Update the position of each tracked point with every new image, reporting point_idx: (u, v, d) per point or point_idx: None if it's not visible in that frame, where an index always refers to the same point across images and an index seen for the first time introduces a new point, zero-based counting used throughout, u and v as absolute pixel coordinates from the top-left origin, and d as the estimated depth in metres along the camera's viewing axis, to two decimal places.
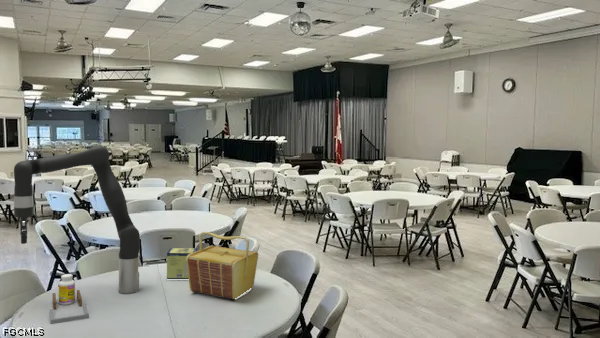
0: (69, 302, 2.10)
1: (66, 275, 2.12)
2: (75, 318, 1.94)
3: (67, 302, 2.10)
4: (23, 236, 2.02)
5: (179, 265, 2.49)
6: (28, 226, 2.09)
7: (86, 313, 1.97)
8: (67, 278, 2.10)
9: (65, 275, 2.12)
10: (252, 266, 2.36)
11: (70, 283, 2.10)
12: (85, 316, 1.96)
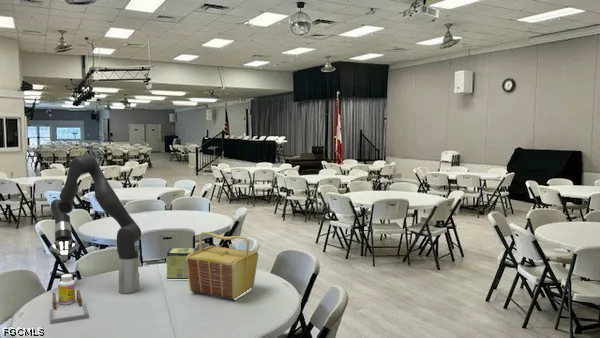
0: (69, 302, 2.10)
1: (66, 275, 2.12)
2: (75, 318, 1.94)
3: (67, 302, 2.10)
4: (60, 256, 2.26)
5: (179, 265, 2.49)
6: (65, 248, 2.28)
7: (86, 313, 1.97)
8: (67, 278, 2.10)
9: (65, 275, 2.12)
10: (252, 266, 2.36)
11: (70, 283, 2.10)
12: (85, 316, 1.96)
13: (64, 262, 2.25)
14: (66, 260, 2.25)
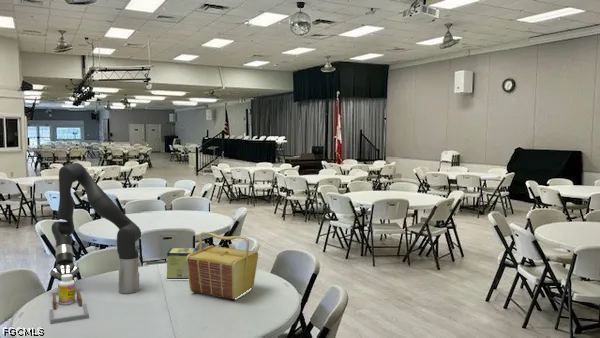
0: (69, 302, 2.10)
1: (66, 275, 2.12)
2: (75, 318, 1.94)
3: (67, 302, 2.10)
4: None
5: (179, 265, 2.49)
6: (66, 271, 2.23)
7: (86, 313, 1.97)
8: (67, 278, 2.10)
9: (65, 275, 2.12)
10: (252, 266, 2.36)
11: (70, 283, 2.10)
12: (85, 316, 1.96)
13: None
14: None
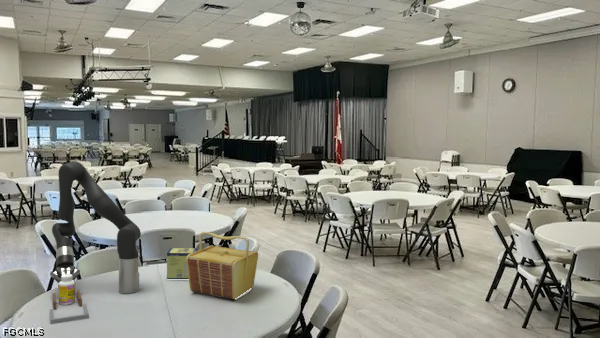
0: (69, 302, 2.10)
1: (66, 275, 2.12)
2: (75, 318, 1.94)
3: (67, 302, 2.10)
4: None
5: (179, 265, 2.49)
6: None
7: (86, 313, 1.97)
8: (67, 278, 2.10)
9: (65, 275, 2.12)
10: (252, 266, 2.36)
11: (70, 283, 2.10)
12: (85, 316, 1.96)
13: None
14: None
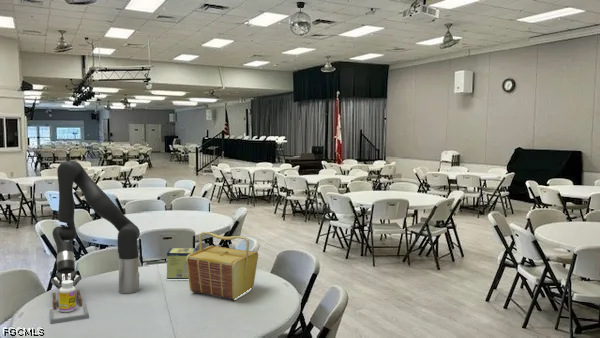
0: (70, 309, 2.02)
1: (67, 281, 2.03)
2: (75, 318, 1.94)
3: (68, 309, 2.01)
4: None
5: (179, 265, 2.49)
6: None
7: (86, 313, 1.97)
8: (68, 284, 2.01)
9: (65, 281, 2.03)
10: (252, 266, 2.36)
11: (71, 290, 2.02)
12: (85, 316, 1.96)
13: None
14: None
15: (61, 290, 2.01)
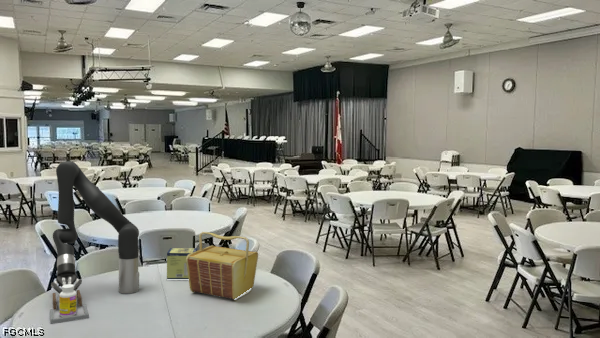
0: (71, 314, 1.97)
1: (67, 285, 1.98)
2: (75, 318, 1.94)
3: (69, 314, 1.96)
4: None
5: (179, 265, 2.49)
6: None
7: (86, 313, 1.97)
8: (69, 289, 1.96)
9: (66, 285, 1.98)
10: (252, 266, 2.36)
11: (72, 294, 1.97)
12: (85, 316, 1.96)
13: None
14: None
15: (62, 294, 1.95)
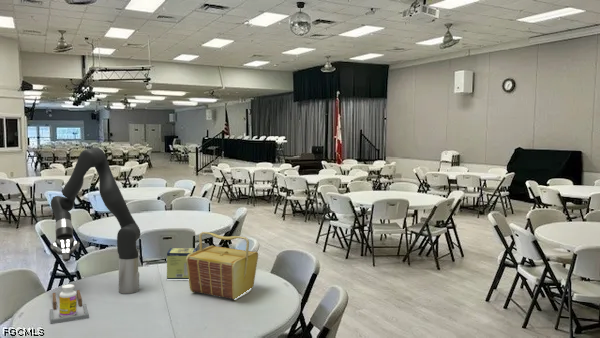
0: (71, 314, 1.97)
1: (67, 286, 1.98)
2: (75, 318, 1.94)
3: (69, 314, 1.96)
4: (62, 255, 2.17)
5: (179, 265, 2.49)
6: (66, 246, 2.19)
7: (86, 313, 1.97)
8: (69, 289, 1.96)
9: (66, 286, 1.98)
10: (252, 266, 2.36)
11: (72, 294, 1.97)
12: (85, 316, 1.96)
13: (66, 261, 2.16)
14: (68, 258, 2.17)
15: (62, 295, 1.95)
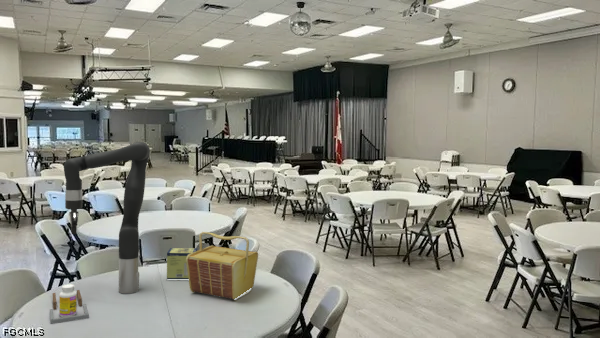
0: (71, 314, 1.97)
1: (67, 286, 1.98)
2: (75, 318, 1.94)
3: (69, 314, 1.96)
4: (73, 227, 2.24)
5: (179, 265, 2.49)
6: None
7: (86, 313, 1.97)
8: (69, 289, 1.96)
9: (66, 286, 1.98)
10: (252, 266, 2.36)
11: (72, 294, 1.97)
12: (85, 316, 1.96)
13: (73, 233, 2.26)
14: None
15: (62, 295, 1.95)
